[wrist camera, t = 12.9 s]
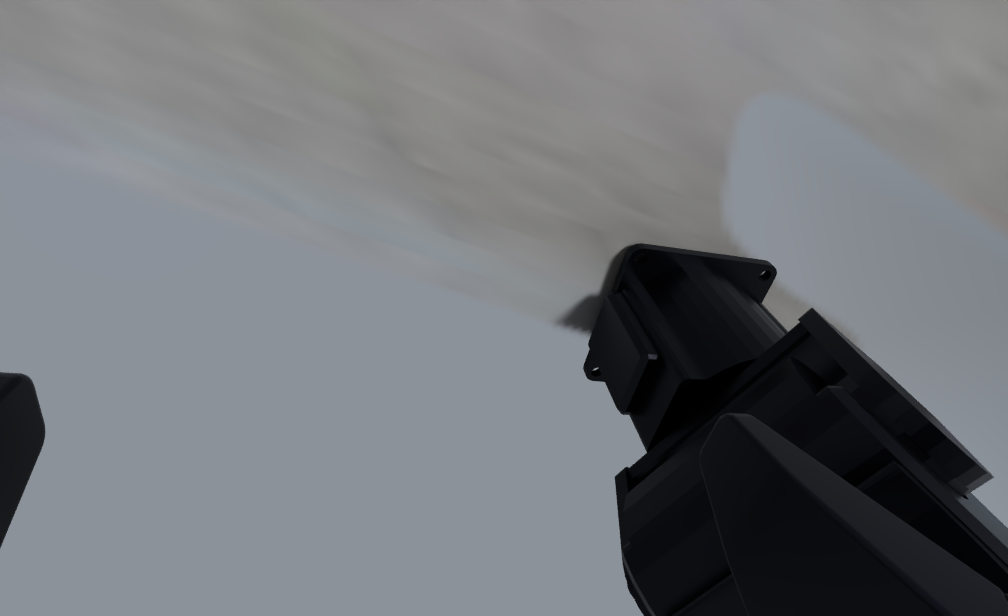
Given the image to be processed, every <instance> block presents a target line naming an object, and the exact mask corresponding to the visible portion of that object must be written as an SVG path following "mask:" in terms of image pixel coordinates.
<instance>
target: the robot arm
mask: <svg viewBox="0 0 1008 616" xmlns="http://www.w3.org/2000/svg"><path fill="white" fill-rule="evenodd" d="M640 254H644V255H643V257H642V259H640V260H638V261H635V258H636V257H637V256H638V255H640ZM764 271H765V273H764V274H763V275H761V276H759V275H760V274H761V273H762V272H764ZM776 274H777V271H776V268H775V267H774V266H773V265H772V264H771V263H770V262H768V261H766V260H759V259H751V258H744V257H737V256H730V255H722V254H715V253H708V252H700V251H693V250H686V249H678V248H671V247H664V246H656V245H649V244H635V245H633V246H631V247H630V248H629V249H628V250H627V252H626V253H625V256H624V258H623V261H622V264H621V267H620V269H619V272H618V275H617V277H616V280H615V283H614V285H613V288H612V291H611V292H609V293H608V294H607V295H606V297H605V299H604V302H603V305H602V307H601V310H600V313H599V316H598V318H597V321H596V324H595V326H594V329H593V332H592V335H591V337H590V340H589V343H588V345H589V348H590V350H589V353H588V355H587V358H586V361H585V363H584V367H583V369H584V372H585V374H586V377H587V378H588V379H589V380H592V381H602V382H605V383H606V385H607V388H608V390H609V392H610V394H611V396H612V398H613V401H614V403H615V405H616V407H617V409H618V410H619V411H620V413H621V414H623V415H630V417H631V419H632V421H633V423H634V426H635V428H636V430H637V432H638V434H639V436H640V438H641V441H642V443H643V445H644V447H645V449H646V451H647V453H646V454H645V455H644V456H643V457H642V458H641V459H639V460H638V461H637V462H636V463H635V464H633V465H632V466H631V467H630V468H628V467H626V468H624V469H623V470H622V471H621V472H620V473H619V474H618V475H616V476H615V484H616V495H617V506H618V517H619V527H620V539H621V550H622V561H623V568H624V573H625V577H626V580H627V584H628V585H627V586H628V589H629V591H630V594H631V595H632V596H633V598H634V599H635V601H636V603H637V605H638V607H639V609H640V610H641V612H642V613H643V615H644V616H1008V528H1007V527H1006V526H1004V524H1003V523H1002V522H1000V521H999V520H998V519H997V518H996V517H995V516H994V515H993V514H992V513H991V512H990V511H989V510H988V509H987V508H986V507H985V506H984V505H983V504H982V503H981V502H980V501H979V500H978V499H977V498H976V497H975V496H974V495H973V494H972V493H971V492H972V491H973V490H975V489H976V488H978V487H980V486H981V485H983V484H984V483H986V482H987V481H989V480H990V479H992V478H993V476H992V475H991V473H990V472H989V471H987V470H986V468H985V467H984V466H983V465H982V464H981V463H980V462H979V461H978V460H977V459H976V458H975V457H974V456H973V455H972V454H971V453H970V452H969V451H968V450H967V449H966V448H965V447H964V446H963V445H962V444H961V443H960V442H959V441H958V440H957V439H956V438H955V437H954V436H953V435H952V434H951V433H950V432H949V431H948V430H947V429H946V428H945V427H944V426H943V425H942V424H941V423H940V421H938V419H936V418H935V417H934V416H933V415H932V414H931V413H930V412H929V411H928V410H927V409H926V408H925V407H923V406H922V405H921V404H920V403H919V402H918V401H917V400H916V399H915V398H914V397H913V396H912V395H910V394H909V393H908V392H907V391H906V390H905V389H904V388H903V387H902V386H901V385H900V384H898V383H897V382H896V381H895V380H894V379H893V378H892V377H891V376H890V375H889V374H888V373H886V372H885V371H884V370H883V369H882V368H881V367H880V366H879V365H877V364H876V363H875V362H874V361H873V360H872V359H871V358H869V357H868V356H867V355H866V354H865V353H864V352H863V351H861V350H860V349H859V348H858V347H857V346H856V345H854V344H853V343H852V342H851V341H850V340H849V339H848V338H846V337H845V336H844V335H843V334H842V333H841V332H840V331H838V330H837V329H836V328H835V327H834V326H833V325H831V324H830V323H829V322H828V321H827V320H826V319H825V318H823V317H822V316H821V315H820V314H819V313H818V312H816V311H815V310H814V309H813V308H811V309H810V310H808V311H807V312H806V313H805V314H804V315H803V316H801V317H800V318H799V319H798V320H799V321H800V323H798V324H797V325H796V326H795V327H794V328H792V329H791V330H790V331H789V332H788V331H787V330H786V329H785V328H784V327H783V326H782V325H781V324H780V323H779V322H778V320H777V319H776V318H775V317H774V316H773V315H772V314H771V313H770V312H769V311H768V310H767V309H766V308H765V307H764V306H763V305H762V301H763V300H764V298H765V296H766V294H767V292H768V290H769V288H770V287H771V285H772V283H773V281H774V279H775V277H776ZM597 367H598V368H599V369H597V370H594V371H592V370H593V369H594V368H597ZM44 438H45V424H44V420H43V416H42V413H41V409H40V405H39V402H38V398H37V395H36V391H35V387H34V384H33V382H32V380H31V379H30V378H29V377H28V376H27V375H24V374H20V373H3V372H0V547H1V545H2V543H3V540H4V538H5V535H6V533H7V531H8V528H9V525H10V523H11V521H12V518H13V516H14V514H15V511H16V509H17V506H18V504H19V502H20V499H21V497H22V494H23V492H24V490H25V487H26V485H27V482H28V480H29V478H30V475H31V473H32V470H33V468H34V466H35V463H36V461H37V458H38V456H39V454H40V451H41V449H42V446H43V443H44Z"/></svg>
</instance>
